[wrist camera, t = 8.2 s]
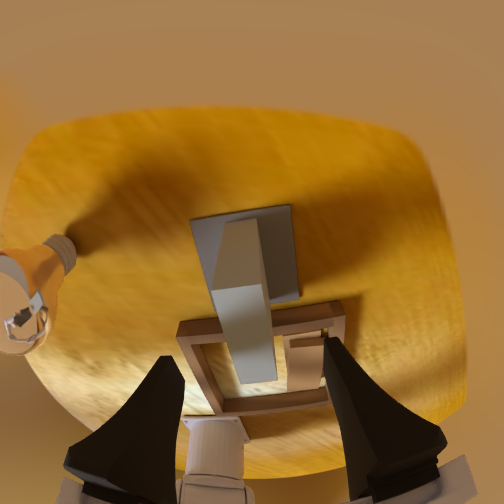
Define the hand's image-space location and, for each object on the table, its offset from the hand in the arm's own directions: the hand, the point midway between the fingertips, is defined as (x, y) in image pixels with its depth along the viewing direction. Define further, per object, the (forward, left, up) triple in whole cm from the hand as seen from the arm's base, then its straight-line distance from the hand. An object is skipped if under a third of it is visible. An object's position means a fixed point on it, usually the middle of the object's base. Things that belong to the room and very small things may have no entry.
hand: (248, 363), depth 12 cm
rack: (-12, 0, -10) cm, 15 cm away
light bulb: (+4, +15, -10) cm, 18 cm away
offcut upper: (-12, -4, -9) cm, 16 cm away
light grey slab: (0, 0, -9) cm, 9 cm away
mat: (0, 0, -10) cm, 10 cm away
